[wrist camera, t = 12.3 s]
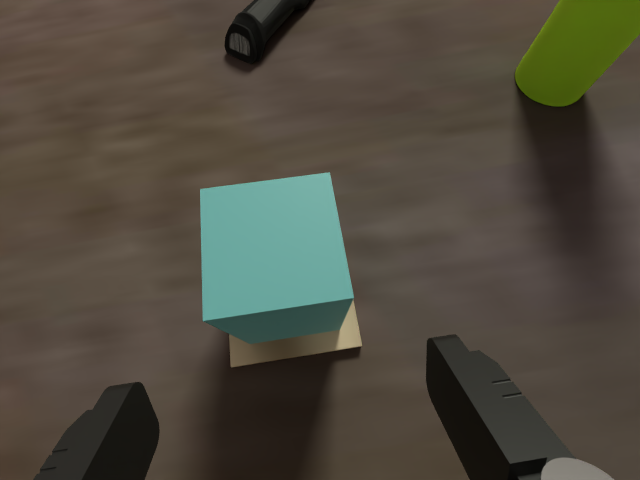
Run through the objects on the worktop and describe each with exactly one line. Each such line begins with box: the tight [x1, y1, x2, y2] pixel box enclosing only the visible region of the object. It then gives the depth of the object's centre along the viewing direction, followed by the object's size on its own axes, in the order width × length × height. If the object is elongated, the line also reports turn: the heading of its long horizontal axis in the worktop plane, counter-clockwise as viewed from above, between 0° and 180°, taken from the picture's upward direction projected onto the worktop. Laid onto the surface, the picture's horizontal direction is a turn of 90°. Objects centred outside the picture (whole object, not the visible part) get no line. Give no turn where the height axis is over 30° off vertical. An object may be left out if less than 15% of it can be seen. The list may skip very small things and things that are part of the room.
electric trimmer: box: [225, 0, 310, 64], centre depth 32 cm, size 4×16×3 cm, turn 149°
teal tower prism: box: [200, 172, 354, 344], centre depth 18 cm, size 6×6×9 cm
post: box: [229, 301, 362, 367], centre depth 19 cm, size 8×8×8 cm
